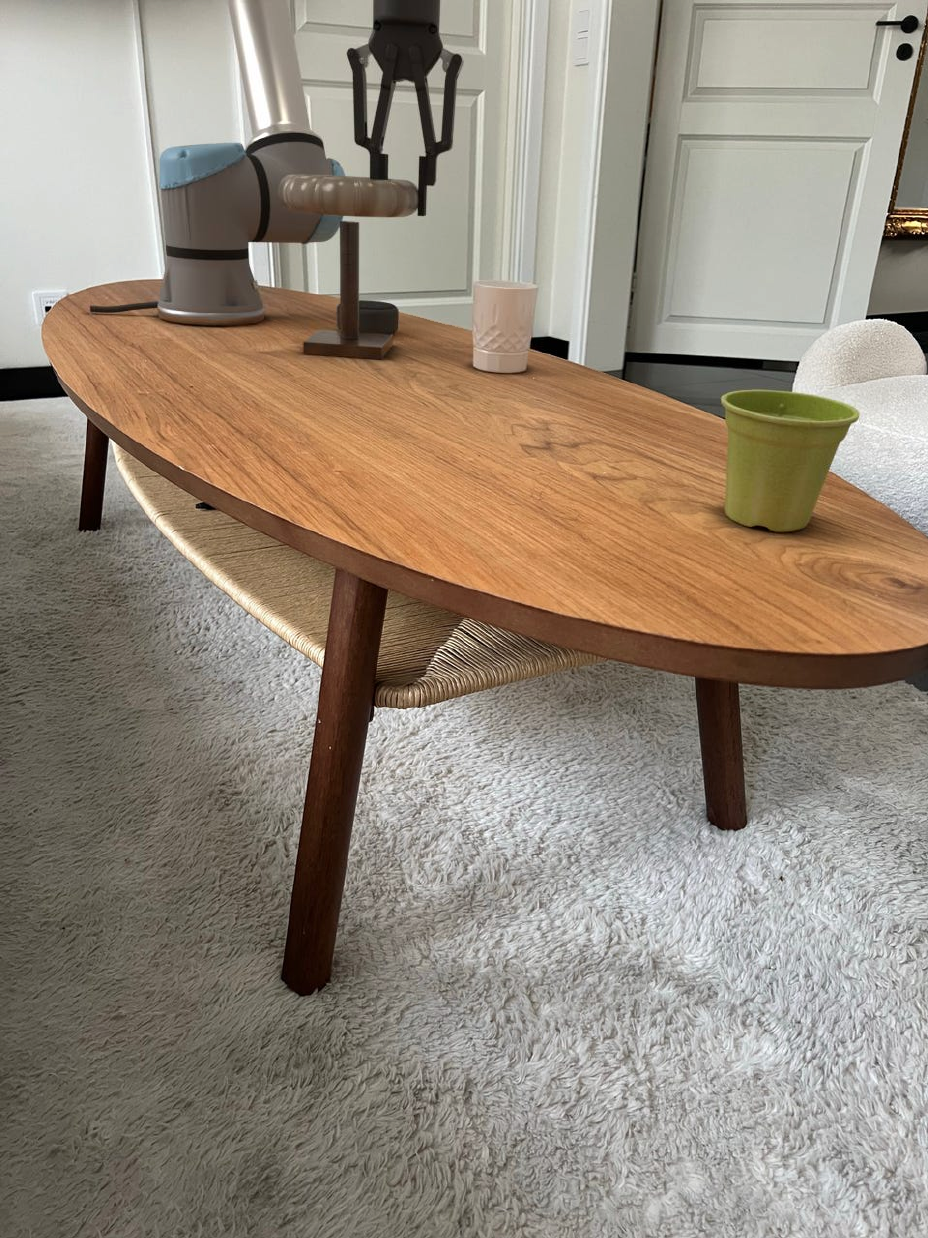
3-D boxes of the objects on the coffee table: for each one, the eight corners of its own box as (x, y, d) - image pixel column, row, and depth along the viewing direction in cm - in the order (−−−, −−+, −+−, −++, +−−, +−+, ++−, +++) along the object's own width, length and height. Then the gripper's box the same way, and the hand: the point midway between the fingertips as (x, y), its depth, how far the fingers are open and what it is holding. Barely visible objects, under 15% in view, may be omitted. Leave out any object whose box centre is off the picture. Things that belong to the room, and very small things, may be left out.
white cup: (543, 370, 114) (551, 286, 109) (502, 377, 109) (509, 289, 104) (496, 359, 118) (502, 278, 114) (455, 365, 113) (459, 281, 109)
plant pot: (756, 548, 62) (783, 424, 58) (676, 503, 70) (695, 391, 66) (857, 535, 66) (889, 417, 62) (771, 493, 74) (794, 386, 70)
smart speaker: (350, 325, 136) (350, 297, 134) (406, 331, 134) (407, 303, 132) (327, 333, 128) (326, 304, 127) (385, 340, 126) (386, 310, 125)
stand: (303, 353, 115) (300, 220, 108) (320, 340, 123) (318, 217, 117) (381, 359, 114) (383, 226, 107) (392, 345, 123) (395, 222, 116)
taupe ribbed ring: (264, 212, 104) (263, 173, 102) (297, 206, 119) (296, 172, 117) (411, 220, 104) (412, 181, 102) (425, 213, 119) (426, 180, 117)
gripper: (323, -26, 98) (326, 211, 108) (482, -18, 97) (469, 219, 107) (337, -13, 104) (339, 208, 115) (485, -6, 104) (473, 217, 114)
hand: (402, 213), depth 111 cm, fingers closed on taupe ribbed ring, 4 cm apart
